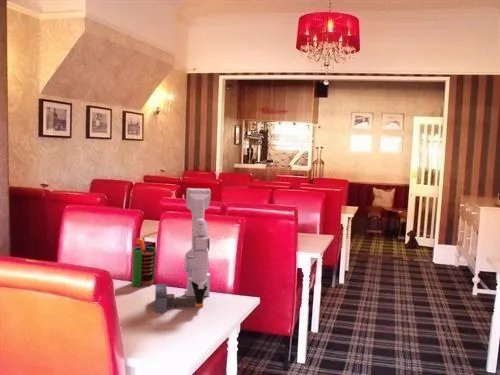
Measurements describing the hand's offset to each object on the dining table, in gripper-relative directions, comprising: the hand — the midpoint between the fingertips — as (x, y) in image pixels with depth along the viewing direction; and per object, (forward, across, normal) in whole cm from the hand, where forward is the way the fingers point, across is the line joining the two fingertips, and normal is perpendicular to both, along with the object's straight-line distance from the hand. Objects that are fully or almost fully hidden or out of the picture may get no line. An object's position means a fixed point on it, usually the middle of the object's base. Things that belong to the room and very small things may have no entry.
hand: (198, 301), depth 186 cm
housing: (+1, 0, -14) cm, 14 cm away
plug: (+1, 0, -6) cm, 6 cm away
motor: (+2, -30, -22) cm, 37 cm away
